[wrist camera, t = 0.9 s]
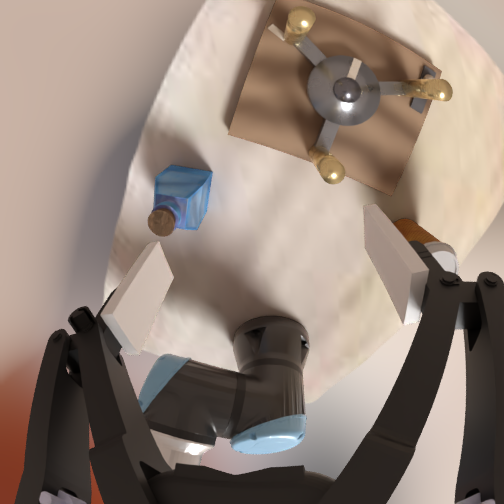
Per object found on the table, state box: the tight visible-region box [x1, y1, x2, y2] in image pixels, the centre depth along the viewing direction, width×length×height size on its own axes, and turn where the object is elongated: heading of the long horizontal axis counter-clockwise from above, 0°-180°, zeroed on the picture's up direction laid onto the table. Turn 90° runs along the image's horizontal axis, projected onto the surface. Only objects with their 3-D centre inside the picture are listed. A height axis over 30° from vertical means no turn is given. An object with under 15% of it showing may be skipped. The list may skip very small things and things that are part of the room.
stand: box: [228, 0, 442, 196], centre depth 30 cm, size 21×24×4 cm
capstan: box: [284, 6, 453, 184], centre depth 26 cm, size 16×18×10 cm
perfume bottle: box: [148, 165, 213, 237], centre depth 35 cm, size 6×6×12 cm
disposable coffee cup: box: [393, 219, 459, 275], centre depth 36 cm, size 10×10×12 cm
